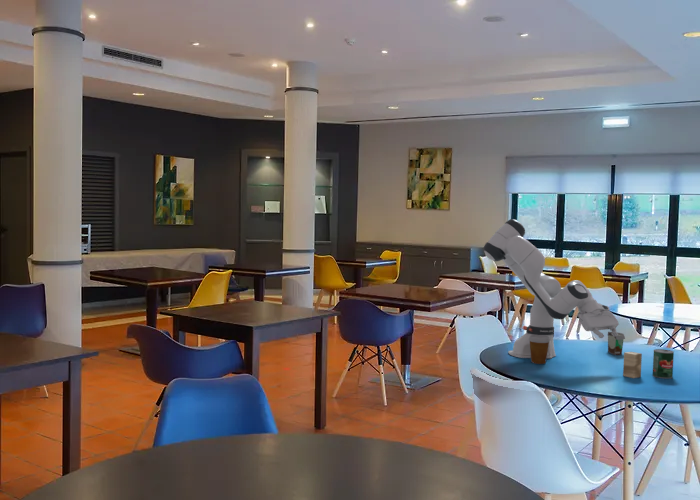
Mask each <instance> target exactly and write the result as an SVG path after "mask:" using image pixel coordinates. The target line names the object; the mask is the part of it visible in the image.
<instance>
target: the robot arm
mask: <svg viewBox="0 0 700 500" xmlns="http://www.w3.org/2000/svg"><path fill="white" fill-rule="evenodd" d="M525 234H526V229H525V227H524V225H523V224H522V223H521V222H520V221H518V220H517V219H514V218H513V219H512V218H511V219H509V220H507V221H506V222H504V224H502V225H501V226H500V227H499V228H498V229H497V230H496V231H495V232H494V233H493V235H492V236H491V237H490V238H489V239H488V241H487V242H485V244H484V245H483V247H482V248H483V253H484V254H485V256H486V257H487V258H488V259H489V260H491V261H492V262H500V261H503V263H504V264H505V265H506V266H507V267H508V268H509V270H511V272H513V273H514V275H516V277H517V278H518V279H519V280H520V282H521V283H522V284H523V286H524V287H525V288H526V289H527V291H528V292H529V293H530V294H531V295H532V296H534V298H533V299H534V300H533V303H532V306H531V307H530V310H529V311H530V313H529V314H530V315H529V317H530V318H529V325H528V326H526V325H523V326H522V330H524V331H526V332H525V333H524V334H523V335H522V336H520V337H519V338H517V339H516V340H515V341H514V343H513V347H512V350H508V354H509V355H510V356H511V357H516V358H519V359H521V358H522V359H531V351H530V341H529V337H530V336H531V335H542V336H548V337H549V339H550V341H549V345H548V351H547V357H546V359H552V358H554V357H556V356H557V355H556V351H555V345H554V343H555V342H554V336H555V326H554V320H564V319H566V317H567V316H568V315H569V314H570V313H571V312H572V311H573V310H574V309H575V308H577V310H578V311H579V312H578V313H577V317H578V319H579V322H580V325H581V326H582V328H583V329H584V331H585V332H593V334H595V335H596V336H597V337H598V338H599V339H603V338H604V337H605V334H604V333H603V332H601V331H605V330H606V331H607V330H609V332H612V335H613V337H616V336H617V335H618V333H619V332H618V333H617V327H618V326H619V325H620V324H619V321H618V319H617V317H616V316H615V315H614V313H613V312H612V311H610V307H609V306H608V305H604V304H601V303H599V302H597V300H596V299H595V298H594V297H593V295H592V293H591V292H590V290H589V289H588V287H587V286H586V285H585V284H584V283H583V282H582V281H581V280H577V279H576V280H575V279H574V280H571V281H569V282H568V283H567V284H566V285H565V286H564V287H563V288H562V286H561V283H560V282H559V281H558V280H557V279H556V277H553V276H549V275H546V274H545V273H544V272H543V270H544V268H545V264H546V259H545V255H544V254H543V253H542V251H540V250H539V248H537V247H536V246H535V245H533V244H532V242H530V241H529V240H528V239H526V238H525V237H524V236H525Z"/></svg>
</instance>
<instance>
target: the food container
mask: <svg viewBox="0 0 700 500" xmlns="http://www.w3.org/2000/svg"><path fill="white" fill-rule="evenodd" d="M616 332H617V331H616ZM617 333H618V335H617V336H616V337H613V335H612V331H607V352H608V353H609V354H611V355H614V356H621V355H622V354H623V346H624V340H626V336H625V334H624V333H622V332H617Z"/></svg>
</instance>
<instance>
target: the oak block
mask: <svg viewBox="0 0 700 500" xmlns="http://www.w3.org/2000/svg"><path fill="white" fill-rule="evenodd" d="M642 355H643V354H642V353H640V352H635V351H625V352H623V366H622V367H623V370H622V371H623V373H622V376H623V377H627V378H630V379H638V378H641V377H642V360H643V359H642V358H643V357H642Z"/></svg>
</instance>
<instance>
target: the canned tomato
mask: <svg viewBox="0 0 700 500" xmlns="http://www.w3.org/2000/svg"><path fill="white" fill-rule="evenodd" d="M674 352H675V351H673V350H670V349H661V348H657V349H653V358H652V361H653V362H652V377H654V378H659V379H668V380H669V379H673V375H674V355H675V354H674Z"/></svg>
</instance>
